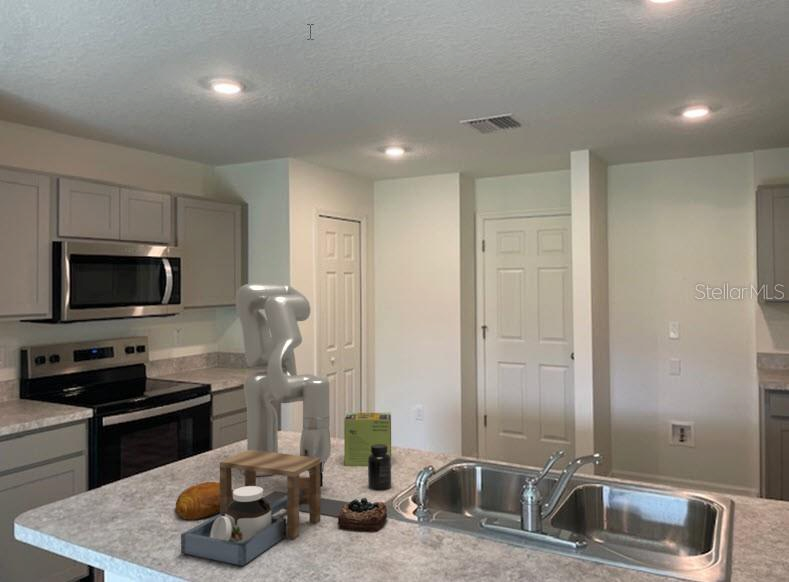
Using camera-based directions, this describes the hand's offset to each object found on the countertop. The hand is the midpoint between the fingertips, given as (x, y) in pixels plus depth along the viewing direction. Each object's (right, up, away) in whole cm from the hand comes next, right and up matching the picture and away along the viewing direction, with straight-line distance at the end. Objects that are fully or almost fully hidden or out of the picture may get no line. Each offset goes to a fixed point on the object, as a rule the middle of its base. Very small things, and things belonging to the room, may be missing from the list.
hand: (316, 486), depth 168 cm
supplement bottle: (+18, -2, +6) cm, 19 cm away
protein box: (+13, -2, +32) cm, 34 cm away
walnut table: (-8, -2, -21) cm, 23 cm away
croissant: (-28, -3, -11) cm, 30 cm away
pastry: (+14, -3, -21) cm, 25 cm away
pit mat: (-2, -2, -8) cm, 9 cm away
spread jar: (-13, -2, -33) cm, 35 cm away
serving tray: (-10, -2, -24) cm, 26 cm away
